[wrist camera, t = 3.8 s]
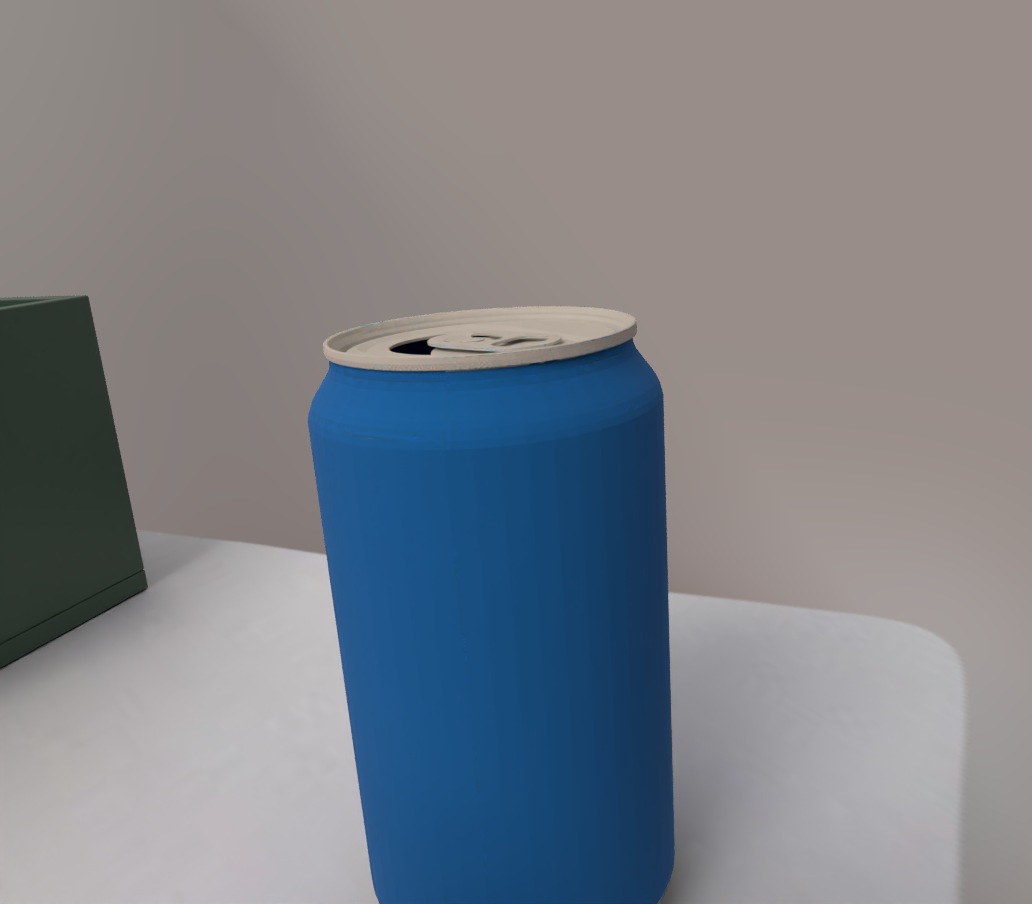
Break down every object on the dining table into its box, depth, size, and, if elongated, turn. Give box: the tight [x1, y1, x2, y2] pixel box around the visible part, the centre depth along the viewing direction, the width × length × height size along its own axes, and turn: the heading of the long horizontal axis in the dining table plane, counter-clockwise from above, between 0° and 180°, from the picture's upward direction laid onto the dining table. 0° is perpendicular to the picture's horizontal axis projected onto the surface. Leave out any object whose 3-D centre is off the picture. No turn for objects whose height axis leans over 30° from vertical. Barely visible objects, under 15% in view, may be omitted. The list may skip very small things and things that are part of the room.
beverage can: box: [308, 306, 675, 904], centre depth 18 cm, size 6×6×12 cm
